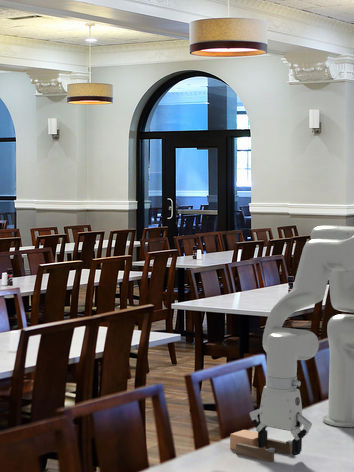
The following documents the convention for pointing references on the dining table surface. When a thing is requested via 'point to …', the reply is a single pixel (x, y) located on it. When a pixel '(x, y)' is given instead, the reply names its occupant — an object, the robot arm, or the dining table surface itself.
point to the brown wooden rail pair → (265, 453)
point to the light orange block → (244, 438)
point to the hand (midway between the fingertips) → (279, 450)
